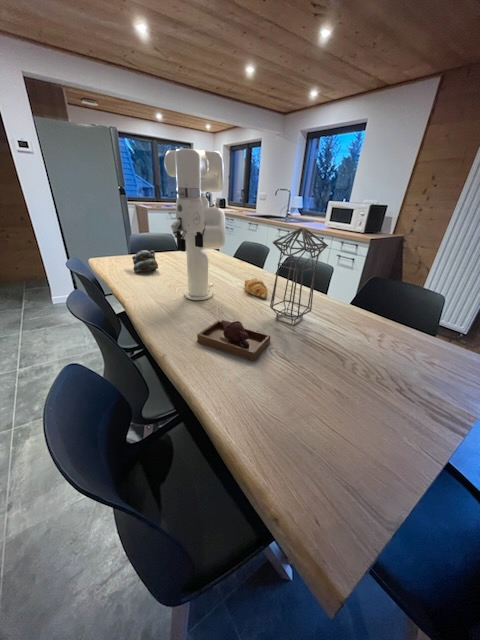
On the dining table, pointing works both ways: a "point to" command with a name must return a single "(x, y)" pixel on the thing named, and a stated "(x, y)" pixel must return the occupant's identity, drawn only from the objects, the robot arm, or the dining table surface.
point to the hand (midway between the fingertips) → (190, 248)
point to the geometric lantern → (276, 243)
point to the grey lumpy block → (144, 261)
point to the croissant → (256, 287)
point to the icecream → (235, 332)
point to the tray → (216, 339)
